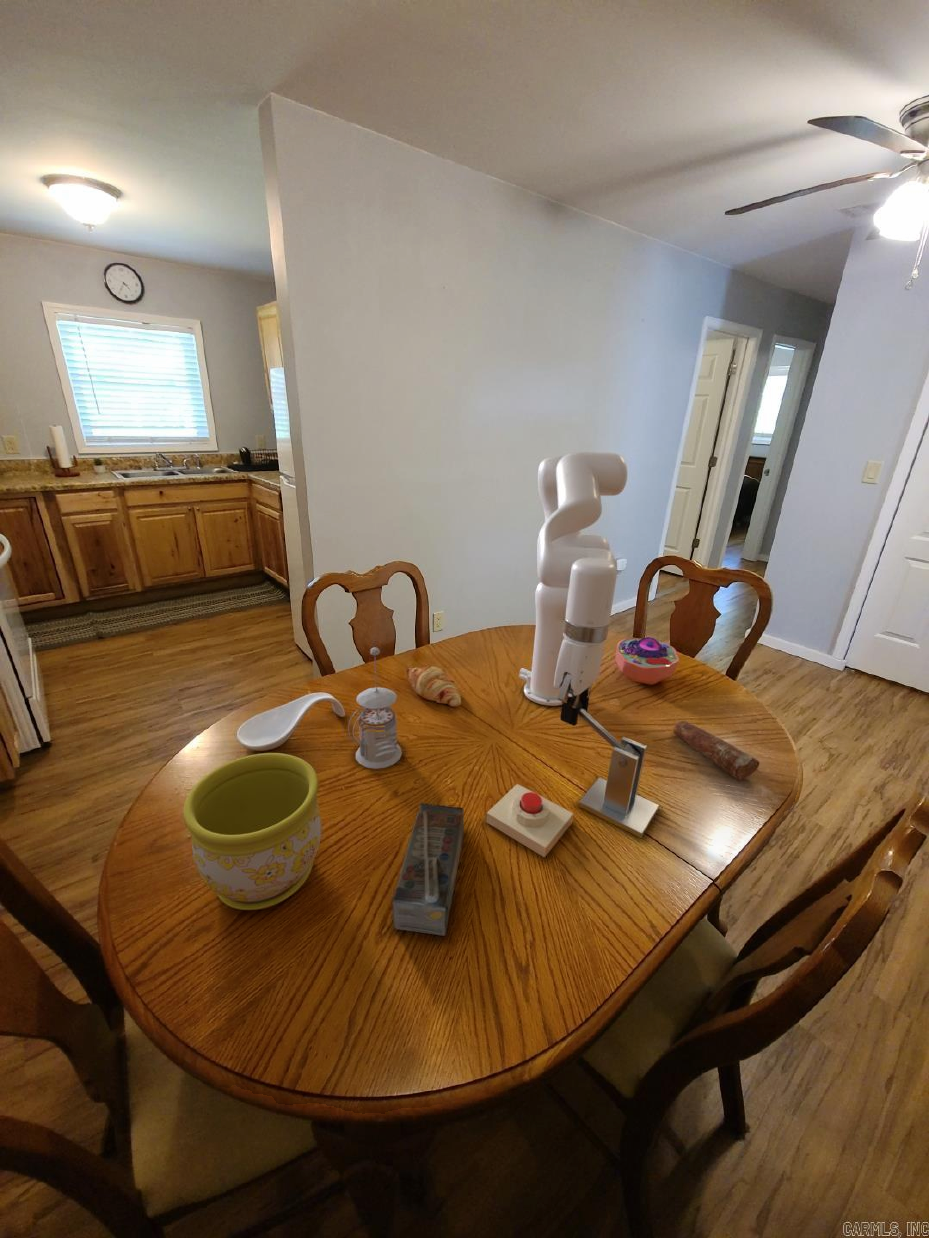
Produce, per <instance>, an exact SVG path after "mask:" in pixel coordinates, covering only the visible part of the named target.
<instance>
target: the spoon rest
mask: <svg viewBox="0 0 929 1238" xmlns="http://www.w3.org/2000/svg"><path fill="white" fill-rule="evenodd" d="M321 702H329V703H330V704H331V707H332V711H333V712H334V713H335V714H336V715H337V716H338V717H341V718H343V717H345V716H346V712H345V708H344V706H343V704H342V703H341V702H340V701H339V700H337V699H336V698H335V697H334V696H333V695H332V694H330V693H328V692H312V693H308V694H306V695H304V696H301V697H299V698H296V699H294V700H292V701H290V702H287V703H285V704H283V705H280V706H277V707H275V708H272V709H269V710H267V711H264V712H261V713H258V714H256V715H254V716H252V717H251V718H249V719H247V720H246V721H245V722H243V723H242V724H241V725H240V727H239V728H238V729H237V731H236V739H237V741H238V743H239V744H241V746H243V747H245V748H246V749H248V750H251V751H257V752H266V751H269V750H274V749H277V748H278V747H280V746H282V745H283V744H284V743H286V742H287V740H289V739H290V737H292V735H293V734H294V732H295V730H296V729H297V727H298V726H299V724H300V722H301V721H302V719H303V717H305V715H306V714H307V712H308V711H309V710H310V709H311V708H312V707H313V706H314V705H316V704H318V703H321Z"/></svg>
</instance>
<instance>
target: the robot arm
mask: <svg viewBox="0 0 929 1238" xmlns="http://www.w3.org/2000/svg"><path fill="white" fill-rule="evenodd" d="M627 481H628V467H627V462H626V461H625V459H624V458H623V456H622V455H620V454H619V453H613V452H594V451H593V452H592V451H575V452H570V453H568V454H565V455H557V456H550V457H547V458H545V459H542V461H541V462H540V463H539V466H538V469H537V488H538V495H539V499H540V502H541V505H542V510H543V514H544V523H543V524H542V526H541V528H540V530H539V532H538V536H537V541H536V571H537V576H538V580H539V581H540V582H539V583H538V584H537V586H536V588H535V593H534V601H535V603H534V605H535V630H534V631H535V632H534V641H533V651H532V652H533V653H532V660H531V661H532V664H531V670H529V669H526V668H523V667H521V668H519V669H520V670H519V675H518V679H520V680H521V681H525V684H524V686H523V693H524V696H525V697H526V698H527V699H529V700H530V701H531V702H533V703H536V704H539V705H541V706H548V707H549V706H550V707H558V706H561V708H560V709H561V710H560V717H559V718H560V721H561V722H563V723H566V724H569V725H571V726H573V727H575V726H577V725H578V720H579V715H578V713H579V706H578V701H579V699H580V700H581V702H582V708H583V709H584V710H585V711H586V712H587V713H588V710H589V704H590V703H589V702H590V696H591V694H592V686H593V684H594V683H595V682H596V681H597V680H598V679H599V677H600V674H601V670H602V664H603V656H604V646H605V645H604V644H605V643H606V642H607V640H608V634H609V627H610V621H611V615H612V609H613V602H614V595H615V589H616V582H617V577H618V560H617V558H616V557H615V555H614V553H612V551H611V547H610V543H609V541H608V540H607V539H606V538H605V537H603V536H600V535H596V534H595V535H594V534H592V535H591V534H582V533H581V531H582V530H585V529H587V528H589V527H591V526H592V525H594V524H595V523H596V522H598V521H599V519H600V518H601V515H602V512H603V504H602V498H601V497H603V496H604V497H605V496H606V497H608V496H611V497H613V496H618V495H620V494H621V493H622V492H623V491H624V489H625V488H626V485H627ZM572 696H574V699H573V698H572Z"/></svg>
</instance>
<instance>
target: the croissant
mask: <svg viewBox="0 0 929 1238" xmlns="http://www.w3.org/2000/svg"><path fill="white" fill-rule="evenodd" d="M406 675H407V680H408V681H407V682H408V683H409V685H410V686H411V689H412V690H413V691H414V692H415V694H416V695H418V696H420V697H421V698H422V699H424V700H428V701H431V702H436V703H438V704H444V705H446V704H447V705H448V706H450V707H459V706H461V704H462V696H461V694H460V692H459V690H458V689H459V688H458V687H457V685H456V683H455V681H453V680H451V679H450V677H449V675H448V674H447V673H446V671H445V670H444V669H442V668H440V667H438V666H434V665H429V666H427V667H426V666H425V667H424V666H423V667H417V666H416V667H411V666H409V667H407V668H406Z"/></svg>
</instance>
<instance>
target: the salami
mask: <svg viewBox="0 0 929 1238" xmlns="http://www.w3.org/2000/svg"><path fill="white" fill-rule="evenodd" d="M673 733H674V734H675V735H676V736H677V737H679V738H680V739H681V740H683V741H684V742H685V743H686V744H688V745H689V746H691V747H692V748H693V749H694V750H696V751H697V752H699V753H700V754H701V755H703V756H704V757H706V759H708V760H710V761H711V762H712V763H714V764H715V765H717V766H718V767H719V768H721V769H722V770H723V771H724V772H725V773H727V774H729V775H730V776H731V777H733V778H734V779H736V780H737V781H742V780H743V778H747V777H749V776H751V775H752V774H753V773H755V772H756V771H757V770H758V768H759V766H760V761H759V760H758V759H756V758H755V757H753V756H752V755H751V754H750V753H749V754H748V753H747V752H746V751H743V750H742V749H739V748H738V747H736V746H734V745H732V744H731V743H729V742H727V741H725V740H724V739H721V738H720V737H717V736H715V735H713V734H712V733H710V732H709V731H706V730H705V729H703V728H700V727H698V726H697V725H694V724H692V723H691V722H688V721H686V720H680V721H678V722H677V723H676V724H675V726H674V727H673Z"/></svg>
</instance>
